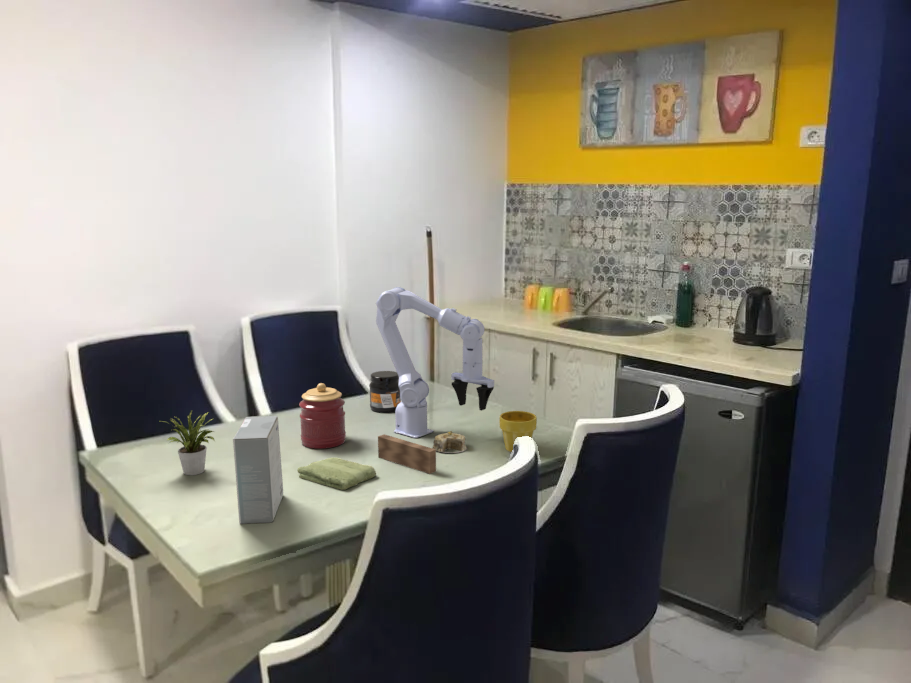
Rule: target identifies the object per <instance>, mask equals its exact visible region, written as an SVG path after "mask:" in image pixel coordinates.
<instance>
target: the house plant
mask: <svg viewBox="0 0 911 683" xmlns="http://www.w3.org/2000/svg"><path fill="white" fill-rule="evenodd" d="M192 412H193V410H190V412H189V415H187V423H188V429H187V428H186V427H185V426H184V424H183V422H182V421H181V419H180V418H179V417H177V416H175V418H176V419H177V420H178V421H179V422H177V421H176V419H173V418H171V419H170V422H172V423H173V424H174V425H175V426H173V428H175V429H172V430H173V431H175V432H176V433H177V434H178V435H179V436H180V438H181V440H180V438H177V437H175V436H170V437H168V438H167V439H166V441H169V443H173V442H176V443H177V444H178V443H181V444H182V445H183V446H181V447H179V448H178V449H177V454H178V457H179V461H180V465H181V467H182V472H183V475H187V476H196V475H200V474H203V472H205V471H206V470H205V469H206V467H205V466H206V458H207V449H208V447H207V446H206V445H205V444H202V443H207V444H210V443H209V439H210V440H212V441H214V442H216V441H215V438H214V436H211V435H209V436H208V434H211V433H215V431H214V430H211V429H210V428H207V429H203V427H205V424H203V423H204V422H205V419H206V416H207V415H208V413H209V411H208V412H206V413H204V414H203V415H202V414H200V415H199V416H198V417H197V418H196V419H195V420H194V422H192V419H191V418H192ZM199 418H200V419H199ZM198 419H199V420H198ZM212 420H213V418H212V419H209V420H208V421H207V423H209V422H211V421H212ZM197 421H198V422H197ZM160 422H163V423H167V424H169V422H168V421H163V420H160ZM196 422H197V423H196ZM179 423H180V424H181V425H180V424H179ZM195 424H196V425H195ZM176 428H177V429H176ZM202 429H203V430H202Z"/></svg>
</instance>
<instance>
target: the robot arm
mask: <svg viewBox="0 0 911 683" xmlns="http://www.w3.org/2000/svg"><path fill="white" fill-rule="evenodd" d="M375 304H376V318H375V319H376V320H375V322H376V326H377V328H378V331H379V333H380V335H381V337H382V340H383V342H384V345H385V347H386V350H387V352H388V355H389V356H390V359H391V361H392V364H393V366H394V369H395V372H397V374H398V376H399V385H398V386H399V389H400V398H401V402H400V403H399V404H398V405H397V407H396V411H394V412H395V413H394V414H395V416H394V417H395V429H394V430H393V433H396V434H400V435H404V436H407V437H411V438H414V439H418V438H420V437H423V436H426V435H428V434H431V433H434V429H430V428H428V401H427V397H428V396H429V393H430V386H429V384H428V382H427V381H425V380H424V379H423V377H422V375H421V373H420V372H418V371H417V370H416V369H415V368H416V367H415V365H414V364H413V363H414V362H413V361H412V359H411V356H410V354H409V352H408V350H407V347H406V345H405V342H404V340H403V338H402V335H401V333H400V331H399V327H398V326H397V323H396V321H397V319H398V317H399V315H400V313H401V311H406V310H411V309H413V310H415V311H417V312H418V313H421V314H423V315H426V316H429V317H431V318H433V319H435V320H437V322H438V325H439V327H442V328H443V329H446V330H448V331H450V332H451V333H454V334H456V335H457V336H460V338H461V339H462V372H456V371H455V372H451V373H450V374H451V377H450V378H451V380H452V382H451V386H452V388H453V390H454V392H455V394H456V397H457V401H458V405H459V406H461V407H462V406H465V405H466V402H467V389H468V384H473V385H479V386H478V387H476V388H475V389H476V392H477V397H478V408H479V409H478V410H479V411H484V410H486V409H487V405H488V401H489V398H490V395H491V394H492V392H493V390H494V388H495V379H492V378H488V377H486V376H484V375H483V335H484V334H485V325H484V324H483V323H482V321H481V320H479V318H478V319H477V318H472V317H471V316H469V315H467V316H466V315H464V314H462V313H460V312H457V309H456V308H454V307H452V308H449V307H447V308H444V309H443V308H441V307H439V306H437V305H435V304H433V303H432V302H430V301H428V300H426V299H424V298H422V297H421V296H419V295H417V293H414V292H412V291H411V290H407V289H405V288H403V287H401V286H396V287H393V288H392V289H389V290H385V291H383V292H381V294H379V296H378V298H377V300H376V303H375ZM471 318H472V319H471Z"/></svg>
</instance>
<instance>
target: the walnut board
mask: <svg viewBox="0 0 911 683" xmlns="http://www.w3.org/2000/svg"><path fill="white" fill-rule="evenodd" d="M377 451H378V453H377V454H378V456H377V457H378V458H379V459H383V460H386V461H389V462H390V463H391V462H392V463H395V464H398V465H401V466H404V467H407V468H410V469H413V470H415V471H420V472H423V473H426V474H429V475H431V474H434V473H435V472H437V451H436V449H433V448H432V447H429V446H426V445H421V444H419V443H415V442H413V441H408V440H405V439H401V438H398V437H394V436H392V435H388V434H386V433H384V434H381V435H378V436H377Z"/></svg>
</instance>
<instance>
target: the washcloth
mask: <svg viewBox="0 0 911 683" xmlns="http://www.w3.org/2000/svg"><path fill="white" fill-rule="evenodd" d="M297 473H298V478H300V479H303V480H305V481H310V482H313V483H317V484H319V485H324V486H327V487H329V488H333V489H336V490H337V489H338V490H340V491H346V490H347V489H350V488H352V487H355V486H357V485H358V484H359V483H362V482H366V481H368V480H371V479H373V478H375V477H376V476H377V471H376V469H375V468H374V467H373V466H372V465H369V464H363V463H359V462H357V461H356V462H355V461H349V460H345V459H343V458H340V457H327V458H325V459H321V460H317V461H313V462H310V464H308V465H306V466H299V467H297Z"/></svg>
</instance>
